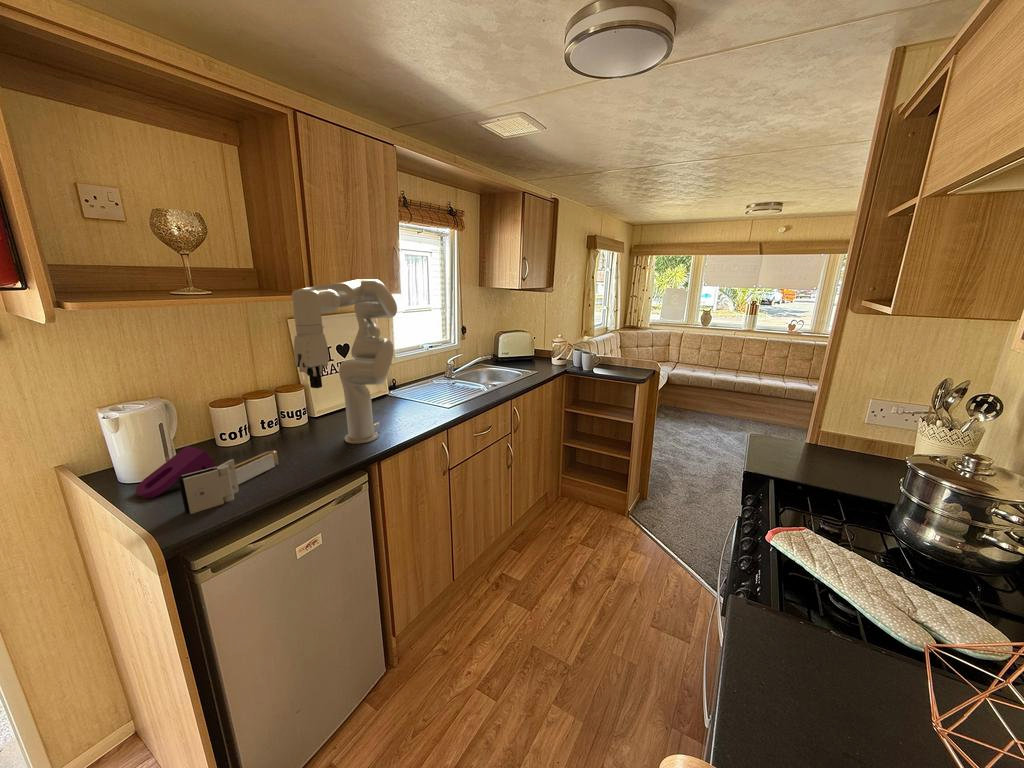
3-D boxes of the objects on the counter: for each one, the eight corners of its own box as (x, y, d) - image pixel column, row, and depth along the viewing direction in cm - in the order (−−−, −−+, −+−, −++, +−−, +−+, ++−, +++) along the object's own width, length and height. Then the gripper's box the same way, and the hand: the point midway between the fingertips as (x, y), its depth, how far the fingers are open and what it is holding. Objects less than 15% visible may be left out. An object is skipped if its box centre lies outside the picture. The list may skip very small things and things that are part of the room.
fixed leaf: (273, 462, 140) (271, 449, 139) (280, 463, 139) (278, 450, 138) (223, 486, 124) (220, 471, 123) (230, 487, 123) (228, 472, 122)
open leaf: (271, 466, 137) (270, 453, 136) (274, 466, 136) (272, 453, 135) (230, 486, 123) (227, 472, 122) (233, 487, 122) (231, 473, 121)
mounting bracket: (167, 515, 119) (221, 468, 131) (146, 497, 114) (204, 450, 126) (150, 508, 123) (204, 463, 135) (129, 490, 118) (187, 445, 130)
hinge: (237, 490, 121) (232, 458, 119) (247, 494, 119) (242, 462, 116) (182, 511, 110) (175, 477, 107) (191, 517, 107) (184, 482, 105)
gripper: (318, 327, 135) (324, 381, 140) (280, 332, 122) (288, 392, 126) (336, 328, 133) (342, 383, 137) (300, 333, 119) (307, 394, 123)
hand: (316, 387), depth 131 cm, fingers closed
